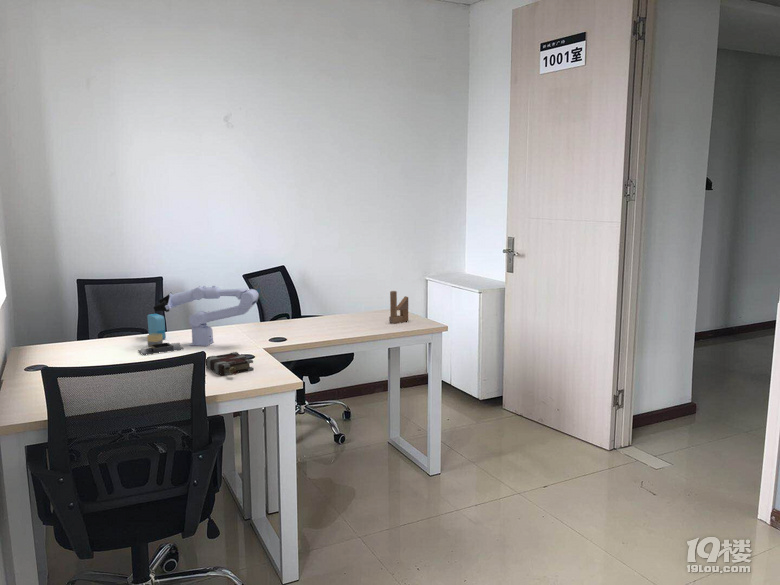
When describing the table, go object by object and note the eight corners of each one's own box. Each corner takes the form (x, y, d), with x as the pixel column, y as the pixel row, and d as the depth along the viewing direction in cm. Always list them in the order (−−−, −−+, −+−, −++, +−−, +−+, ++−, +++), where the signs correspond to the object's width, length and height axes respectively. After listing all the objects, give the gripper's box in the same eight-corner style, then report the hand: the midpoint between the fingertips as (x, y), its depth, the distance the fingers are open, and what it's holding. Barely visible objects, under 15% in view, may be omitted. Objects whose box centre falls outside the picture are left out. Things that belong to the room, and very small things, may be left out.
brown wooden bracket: (408, 321, 363) (408, 290, 360) (392, 323, 357) (392, 292, 355) (405, 320, 366) (404, 289, 363) (389, 322, 361) (388, 291, 358)
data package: (166, 339, 326) (164, 316, 324) (157, 341, 323) (155, 317, 322) (157, 335, 335) (155, 313, 333) (148, 336, 333) (147, 314, 331)
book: (237, 362, 283) (236, 350, 283) (261, 374, 263) (260, 362, 263) (204, 367, 275) (204, 356, 274) (227, 381, 255) (226, 369, 254)
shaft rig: (177, 345, 313) (177, 340, 312) (183, 349, 305) (183, 344, 305) (138, 351, 302) (137, 346, 302) (143, 355, 295) (142, 350, 294)
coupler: (162, 345, 314) (162, 333, 313) (157, 347, 309) (156, 335, 308) (153, 345, 315) (152, 333, 314) (148, 347, 310) (147, 335, 309)
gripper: (183, 284, 318) (158, 292, 320) (174, 297, 305) (148, 305, 307) (189, 297, 321) (164, 304, 323) (180, 310, 308) (154, 317, 309)
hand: (157, 305), depth 315 cm, fingers open, 7 cm apart
